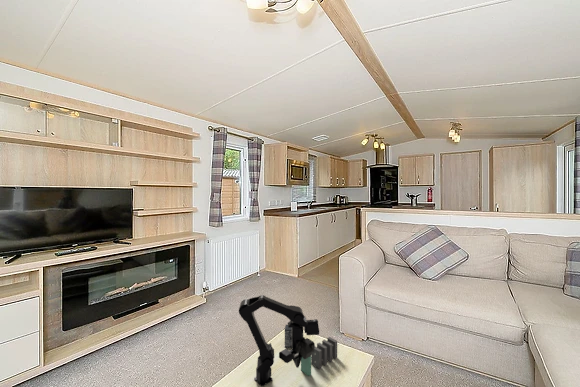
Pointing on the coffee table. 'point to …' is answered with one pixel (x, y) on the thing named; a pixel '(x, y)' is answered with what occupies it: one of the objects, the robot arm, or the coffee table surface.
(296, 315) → the robot arm
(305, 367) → the tile
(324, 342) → the tile
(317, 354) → the tile
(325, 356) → the tile
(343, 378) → the coffee table surface
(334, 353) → the tile
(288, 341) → the small box
